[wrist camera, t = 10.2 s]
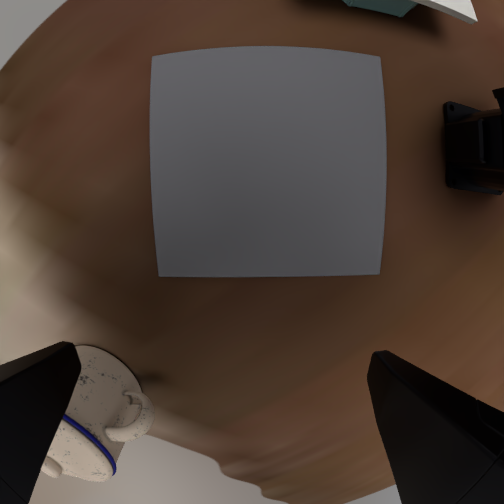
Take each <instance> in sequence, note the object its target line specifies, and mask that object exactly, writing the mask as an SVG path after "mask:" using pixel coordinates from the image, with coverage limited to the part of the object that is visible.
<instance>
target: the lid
mask: <svg viewBox="0 0 504 504" xmlns="http://www.w3.org/2000/svg"><path fill="white" fill-rule="evenodd" d="M411 1H414V2H417V3H420V4H423V5H426V6H428V7H431V8H434V9H436V10H439V11H442V12H444V13H447V14H449V15H451V16H454V17H456V18H458V19H460V20H463V21H465V22H467V23H469V24H473V23H475V22H477V18H476V15H475V12H474V9H473V6H472V3H471V1H470V0H411Z"/></svg>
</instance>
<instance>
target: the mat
mask: <svg viewBox="0 0 504 504" xmlns="http://www.w3.org/2000/svg"><path fill="white" fill-rule="evenodd" d="M386 167H387V156H386V119H385V103H384V90H383V79H382V69H381V61H380V57H377V56H372V55H366V54H360V53H353V52H346V51H338V50H329V49H319V48H306V47H286V46H245V47H225V48H212V49H201V50H192V51H184V52H177V53H170V54H164V55H158V56H153V57H152V69H151V90H150V171H151V193H152V209H153V223H154V235H155V246H156V256H157V265H158V274H159V277H299V276H345V275H378V274H380V266H381V257H382V247H383V235H384V222H385V204H386Z"/></svg>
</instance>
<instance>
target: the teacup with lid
mask: <svg viewBox="0 0 504 504" xmlns="http://www.w3.org/2000/svg"><path fill="white" fill-rule="evenodd" d="M75 347H76V350H77V353H78V356H79V359H80V362H81V366H82V369H81V373H80V375H79V378H78V380H77V383H76V386H75V389H74V391H73V394H72V397H71V400H70V402H69V405H68V408H67V410H66V412H65V414H64V416H63V419H62V421H61V423H60V425H59V427H58V430H57V432H56V434H55V436H54V439H53V441H52V443H51V446H50V448H49V450H48V453H47V455H46V458H45V460H44V463H43V465H42V468H41V470H42V471H43V472H45V473H46V474H47V475H49V476H51V477H53V478H58V477H59V476H60V475H61V473H63V474H66V475H70V476H77V477H79V478H82V479H85V480H89V481H95V482H102V481H106V480H108V479H110V478H111V477H112V476H113V475H114V474H115V472H116V462H117V460H118V457H119V455H120V452H121V450H122V448H123V445H124V443H125V442H126V441H131V440H135V439H137V438H139V437H141V436H143V435H144V434H145V433H146V432H147V431H148V430H149V429H150V428H151V426H152V424H153V421H154V418H155V409H154V406H153V404H152V402H151V401H150V399H149V398H148V397H147V396H146V395H145V394H143V393H142V391H141V388H140V386H139V383H138V382H137V380H136V378H135V377H134V375H133V374H132V373H131V371H130V370H129V369H128V368H127V367H126V366H125V365H124V364H123V363H122V362H121V361H119V360H118V359H117V358H115V357H114V356H112V355H111V354H109V353H107V352H105V351H103V350H101V349H99V348H95V347H92V346H85V345H81V346H75ZM141 405H142V409H141V412H140V415H139V416H138V418H137V419H136V420H135V418H136V416H137V414H138V412H139V410H140V407H141Z"/></svg>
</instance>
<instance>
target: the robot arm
mask: <svg viewBox="0 0 504 504" xmlns="http://www.w3.org/2000/svg"><path fill="white" fill-rule="evenodd" d="M492 92H493V94H494V97H495V99H496V98H497V101H498V104H499V107H500V109H493V110H487V111H480V110H477V109H474V108H471V107H468V106H465V105H461V104H458V103H455V102H451V101H449V102H446V103H445V104H444V114H445V137H446V184H447V186H448V187H449V188H453V189H461V190H468V191H475V192H482V193H489V194H495V195H501V194H502V193H503V191H504V88H499V89H495V90H492ZM449 106H450V107H451V110H450V108H449ZM452 179H453V184H452V182H451V181H452ZM81 369H82V366H81V362H80V359H79V356H78V353H77V350H76V347H75V345H74V344H73V343H70V342H65V341H62V342H59V343H57V344H54V345H51V346H49V347H46V348H44V349H41V350H39V351H36V352H33V353H31V354H28V355H26V356H23V357H20V358H18V359H15V360H13V361H10V362H7V363H5V364H2V365H0V504H28V503H29V501H30V498H31V495H32V492H33V489H34V486H35V483H36V481H37V478H38V476H39V473H40V470H41V468H42V465H43V463H44V460H45V458H46V455H47V453H48V450H49V448H50V446H51V443H52V441H53V439H54V436H55V434H56V432H57V430H58V427H59V425H60V423H61V421H62V419H63V416H64V414H65V412H66V410H67V408H68V405H69V402H70V400H71V397H72V394H73V391H74V389H75V386H76V383H77V380H78V378H79V375H80V373H81ZM367 382H368V386H369V391H370V395H371V400H372V404H373V409H374V414H375V418H376V422H377V426H378V429H379V432H380V435H381V438H382V441H383V444H384V447H385V450H386V453H387V456H388V459H389V463H390V466H391V469H392V472H393V475H394V479H395V482H396V485H397V489H398V492H399V496H400V499H401V503H402V504H504V412H502V411H500V410H498V409H496V408H494V407H492V406H490V405H487V404H486V403H484V402H482V401H480V400H476V398H474V397H472V396H470V395H468V394H467V393H465V392H463V391H461V390H459V389H457V388H455V387H453V386H452V385H450V384H448V383H446V382H444V381H442V380H440V379H439V378H437V377H435V376H433V375H431V374H429V373H427V372H426V371H424V370H422V369H420V368H418V367H416V366H415V365H413V364H411V363H409V362H407V361H406V360H404V359H402V358H400V357H398V356H396V355H395V354H393V353H391V352H389V351H387V350H383V351H375V352H374V353H373V354H372V357H371V361H370V365H369V370H368V374H367Z"/></svg>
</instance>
